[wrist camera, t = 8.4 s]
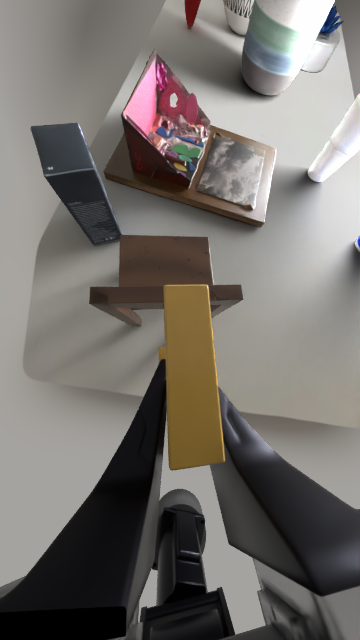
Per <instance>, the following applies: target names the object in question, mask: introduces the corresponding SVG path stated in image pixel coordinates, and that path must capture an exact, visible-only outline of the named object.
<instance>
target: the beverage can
mask: <svg viewBox="0 0 360 640" xmlns="http://www.w3.org/2000/svg"><path fill="white" fill-rule="evenodd" d="M355 246H356V248H357V250H358V251H359V252H360V236H359V237H358V239H357V240H356V242H355Z"/></svg>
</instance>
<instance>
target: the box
mask: <svg viewBox="0 0 360 640" xmlns="http://www.w3.org/2000/svg"><path fill="white" fill-rule="evenodd" d="M30 129H31V132H32V134H33V138H34V140H35V144H36V147H37V151H38V155H39V158H40V161H41V166H42V169H43V174H44V177H45V178H46V179H47V181H48V182H49V183H50V185H51V186H52V188H53V189H54V191H55V192H56V193H57V195H58V196H59V198H60V199H61V200H62V202H63V203H64V205H65V206H66V207H67V209H68V210H69V212H70V213H71V214H72V216H73V217H74V219H75V220H76V221H77V223H78V224H79V225H80V227H81V228H82V230H83V231H84V233H85V234H86V235H87V237H88V238H89V239H90V241H91V242H92V244H93V245H94V246H96V245H100V244H105V243H109V242H113V241H118V240H120V235H122V234H121V232H120V229H119V226H118V223H117V221H116V218H115V215H114V212H113V209H112V206H111V204H110V201H109V199H108V196H107V194H106V191H105V188H104V186H103V184H102V181H101V178H100V176H99V173H98V171H97V168H96V166H95V163H94V161H93V158H92V156H91V153H90V150H89V148H88V145H87V143H86V141H85V138H84V135H83V133H82V130H81V128H80V126H79V124H78V123H70V124H56V125H43V126H32V127H31V128H30Z"/></svg>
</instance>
